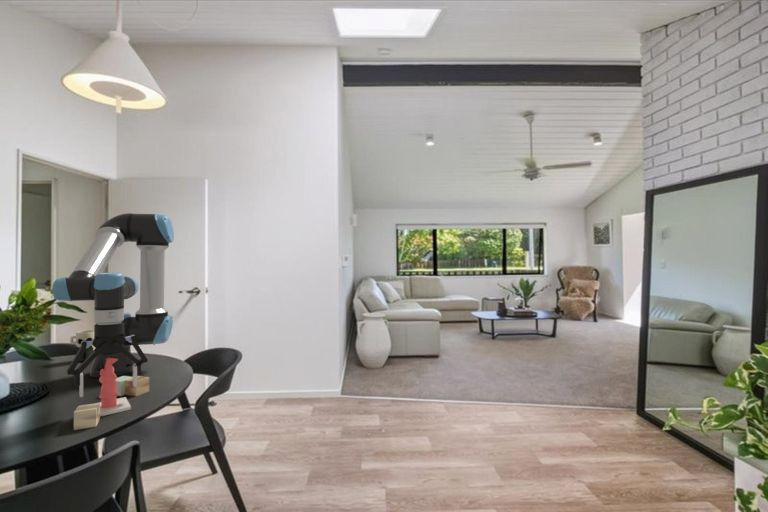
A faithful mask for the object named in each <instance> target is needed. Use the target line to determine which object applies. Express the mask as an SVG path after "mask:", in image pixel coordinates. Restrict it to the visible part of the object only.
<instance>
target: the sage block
mask: <svg viewBox="0 0 768 512" xmlns="http://www.w3.org/2000/svg"><path fill="white" fill-rule="evenodd" d="M130 378H133V376H129V375H120V376H119V377H118V376H117V379H116V381H117V388H116V390H117V392H118V393H119V394H118V395H117V397H122V396H125V380H128V379H130Z"/></svg>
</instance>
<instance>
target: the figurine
mask: <svg viewBox="0 0 768 512" xmlns="http://www.w3.org/2000/svg"><path fill="white" fill-rule="evenodd" d="M117 360H118V359H116V358H106V364H105V369H101V370H100V375H101V377H100V378H98V381H99V382H100V384H101V387H100V394H99V396H98V398H99V399H100V402H101V408H111V407H114V406H116V405H117V399H118V398H117V397H118V396H117V395H118V394H119V393H118V392H117V390H116V388H117V381H116V379H117V378H118V376H116V374H114V367H113V366H112V364H113V363H115V362H116V361H117Z"/></svg>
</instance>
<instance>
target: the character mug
mask: <svg viewBox="0 0 768 512" xmlns="http://www.w3.org/2000/svg"><path fill="white" fill-rule="evenodd" d="M74 339H75V341H74ZM83 340H85V341H93V340H94V329H88V330H87V329H85V330H79V331H76V332H75V335H73V336H70V341H69V342H70V344H71V345H74V344H75V345H76V347H79V348H78V349H77V350H78V351H79V349H80V347H81V341H83ZM94 350H95V349H94V346H93V345H90V346H89V348H86V350H85V352H84V354H83V356H82V357H81V359H80V361H79V362H84V360H86V359H87V357H88V356H89V355H90V354H91V353H92V352H93V351H94ZM78 351H77V352H78Z"/></svg>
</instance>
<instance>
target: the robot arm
mask: <svg viewBox="0 0 768 512" xmlns="http://www.w3.org/2000/svg"><path fill="white" fill-rule="evenodd" d="M174 234H175V233H174V226H173V223H172V221H171V218H170V217H169V216H167V215H166V214H157V213H122V214H118V215H116V216H113V217H111V218H110V219H108V220H106V221H105V222H103V223H102V224H101V225H100V226H99V227H98V229H97V230H96V231H95V236H94V237H95V238H94V240H93V241H92V243H91V244H90V246H89V248H88V249H87V250H86V251H85V253H84V255H83V257H82V258H81V259H80V261H79V262H78V263H77V265H76V266H75V268H74V269H73V271H72V272H71V273H70V275H69V276H68V277H67V276H64V277H59V278H57V279H55V280H54V282H53V284H52V287H51V290H52V292H51V293H52V295H53V298H54V299H55V300H57V301H60V302H61V301H63V302H77V301H80V302H81V301H94V302H93V303H94V309H93V314H94V315H93V317H94V318H93V322H94V323H95V324H94V325H93V327H94V328H93V330H94V340H93V341H85V340H83V341H81V347H79V348H80V349H79V348H78V350H79V351H77V352H76V354H75V356H74V358H73V359H72V361H71V362H70V364H69V366H68V368H67V370H66V374H67V375H68V376H69V375H73V376H74V385H75V387H78V388H79V389H78V391H79V392H78V393H79V398H84V373H83V372H84V370H85V369H86V368H88V366H89V365H90V364H91V366H90V368H89V376H90V377H91V378H98V379H99V378H100V377H101V375H100V370H101V369H105V364H106V358H116V359H118V360H117V361H116V362H115V363H113V364H112V366H113V367H114V374H116V376H117V377H118V376H119V377H120V376H124V375H126V374H130V373H132V377H133V386H134V387H136V386H137V376H141V374H142V365H144V364H145V363H147V362H148V358H147V356H146V355H145V353H144V352H143V350H142V349H141V347H140V346H142V345H153V346H155V345H161V344H165V343H167V342H168V341H169V338H170V336H171V335H172V334H171V333H172V328H173V323H174V319H173V316H172V315H170V314H169V311H168V309H167V308H165V256H166V255H165V252H166V250H167V249H168V248H169V244H170V243H172V242H174V237H175V235H174ZM128 242H129V243H130V242H131V243H133V242H135V243H136V244H135V247H136V248H137V249H139V250H140V258H139V259H140V266H139V268H140V274H139V275H140V276H139V278H140V279H139V280H140V281H139V283H140V284H138V282H137V280H136V279H135V278H133V277H131V276H125V275H124V273H121V272H104V271H105V269H106V268H107V265H108V264H109V263H110V261H111V259H112V257H113V255H114V254H115V252H116V250H117V249H118V248H120V247H122V245H124V243H128ZM138 292H139V308H138V310H136V311H135V313H134V314H135V315H134V316H132V314H131V313H130V312H125V300H128V299H130V298H132V297H134V296H135V295H136V294H137V293H138ZM90 345H93V346H92V347H93V348H94V349H93V350H94V351H93V352H92V353H91V354H90V355H89V356H88V357H87V359H84V360H83V361H82V362H81V361H80V359H81V357H82V356H83V354H84V352H85V350H86V348H89V346H90ZM131 347H133V348H134V350H135V351H136V353H137V355H138V356H139V358H140V359H139V358H137V357H136V356H135V355H133V353H132V352H131ZM79 362H81V364H80V365H79ZM78 365H79V366H78ZM77 366H78V367H77Z"/></svg>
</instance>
